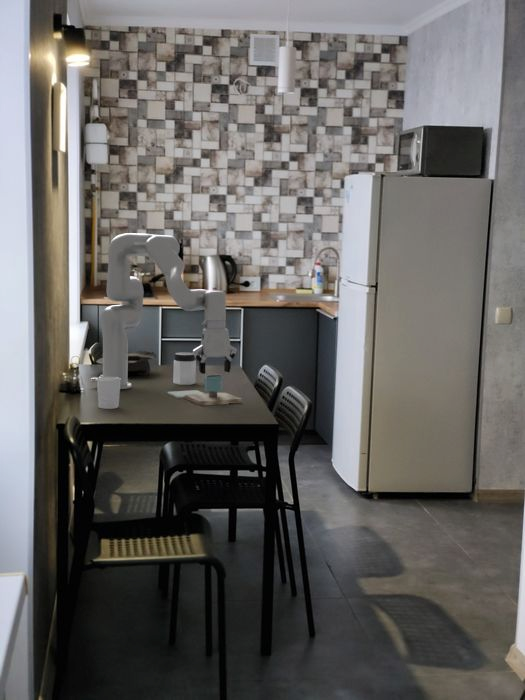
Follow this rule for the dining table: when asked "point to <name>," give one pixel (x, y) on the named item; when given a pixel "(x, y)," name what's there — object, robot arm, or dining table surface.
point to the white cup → (108, 392)
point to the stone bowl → (138, 362)
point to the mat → (184, 393)
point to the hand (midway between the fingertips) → (214, 372)
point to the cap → (213, 382)
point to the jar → (184, 369)
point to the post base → (213, 398)
